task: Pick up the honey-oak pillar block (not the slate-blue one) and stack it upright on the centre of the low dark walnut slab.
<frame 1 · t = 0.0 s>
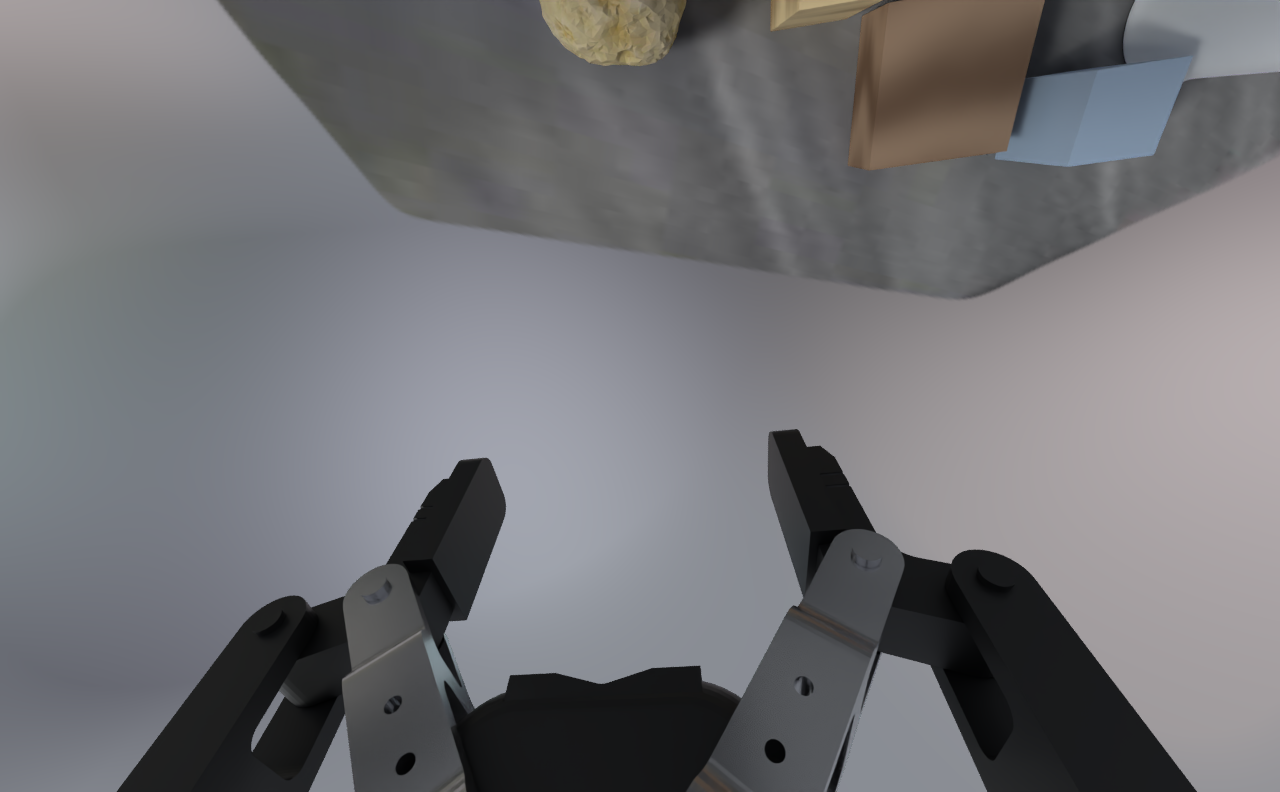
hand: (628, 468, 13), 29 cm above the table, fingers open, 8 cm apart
slate block: (1040, 115, 33), on the table
walnut slab: (919, 86, 32), on the table
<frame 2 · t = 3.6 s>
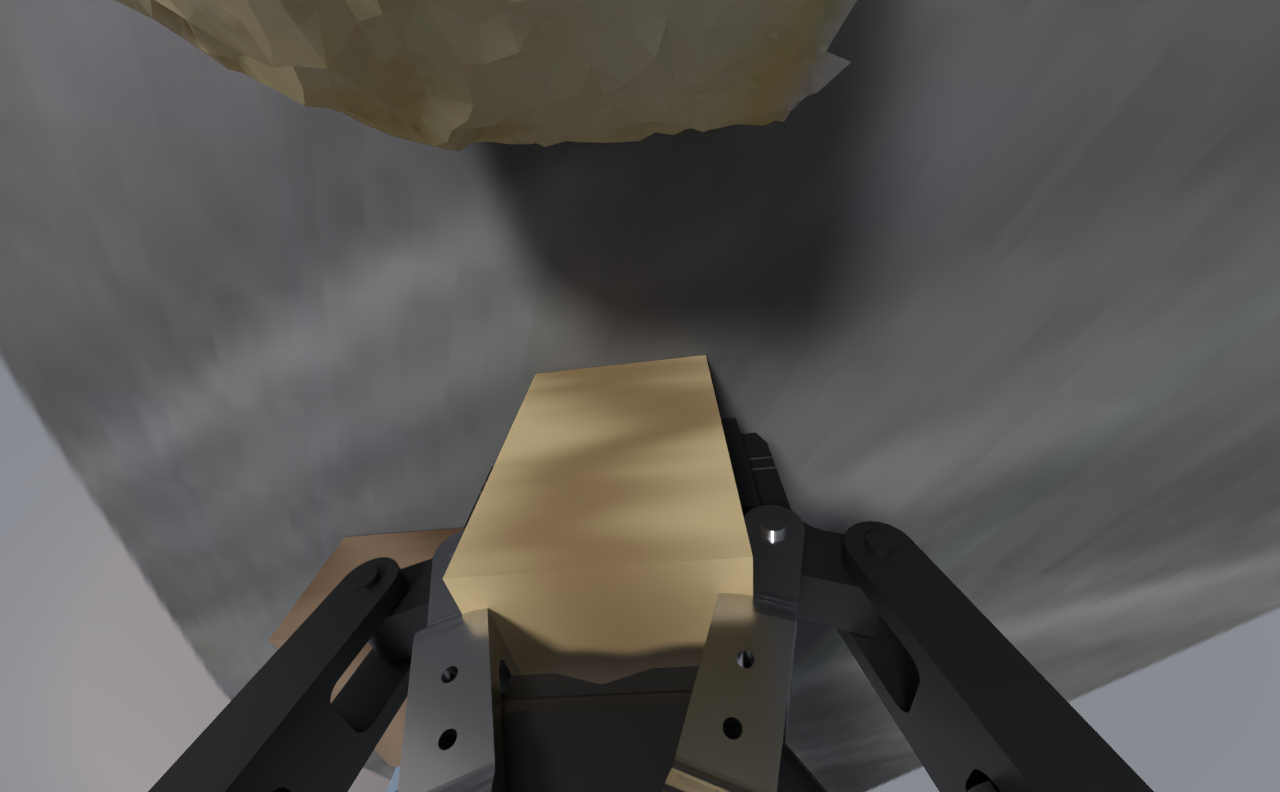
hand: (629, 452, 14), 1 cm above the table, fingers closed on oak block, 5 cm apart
oak block: (631, 433, 14), on the table, touching gripper
walnut slab: (493, 602, 19), on the table
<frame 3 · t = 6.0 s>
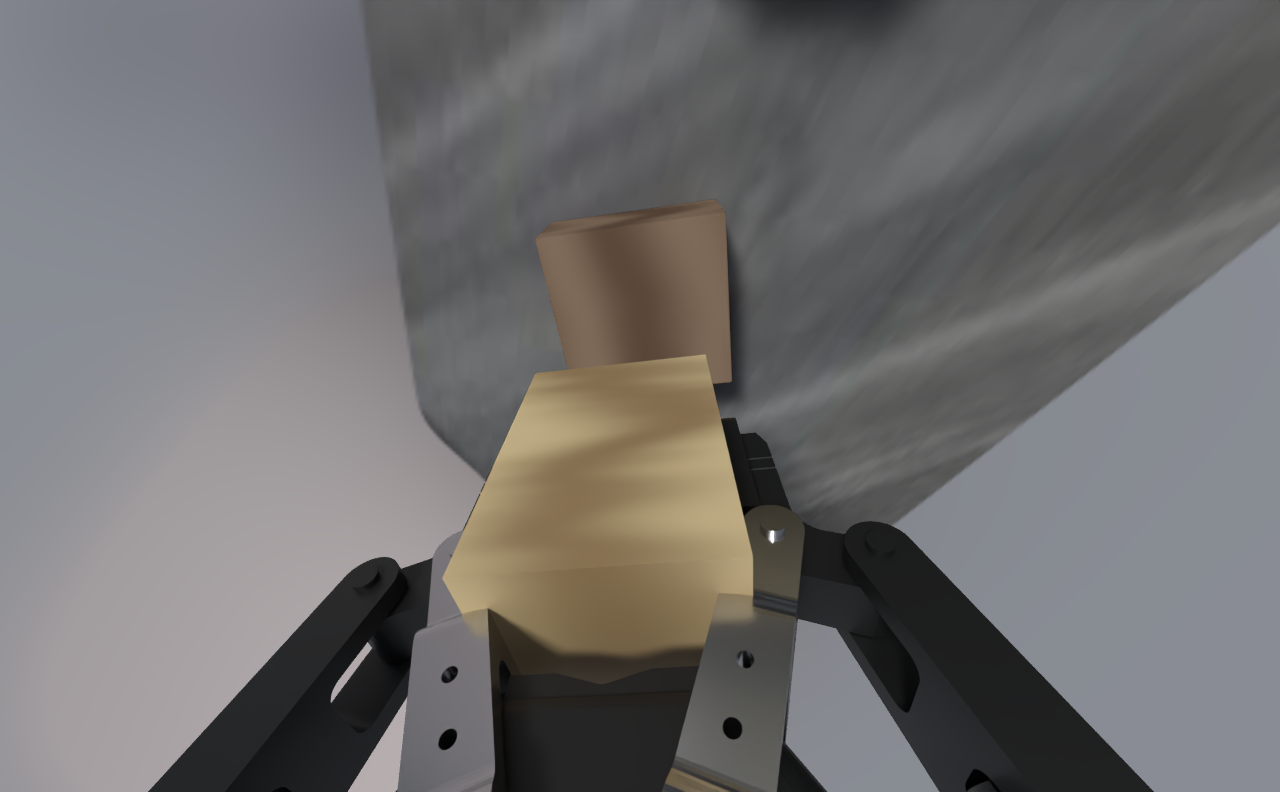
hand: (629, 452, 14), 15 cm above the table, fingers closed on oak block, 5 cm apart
oak block: (631, 433, 14), point 14 cm above the table, touching gripper
walnut slab: (642, 291, 27), on the table
when the fingers open (6 cm above the table, at t = 8.4 s): oak block drops 1 cm, resting on walnut slab.
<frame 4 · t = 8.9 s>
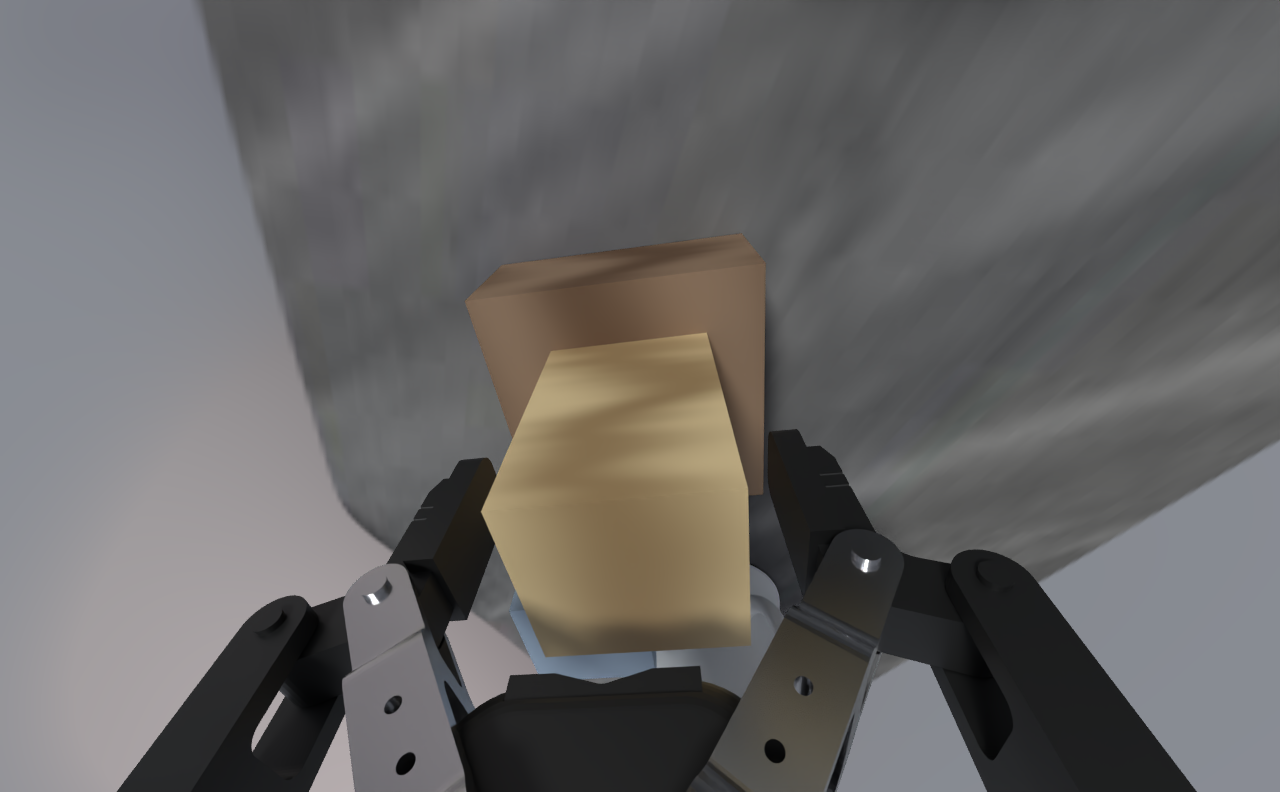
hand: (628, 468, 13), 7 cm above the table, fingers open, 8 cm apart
mug: (718, 583, 27), on the table
oak block: (638, 407, 16), point 4 cm above the table, touching walnut slab
slate block: (603, 514, 24), on the table
walnut slab: (635, 357, 19), on the table
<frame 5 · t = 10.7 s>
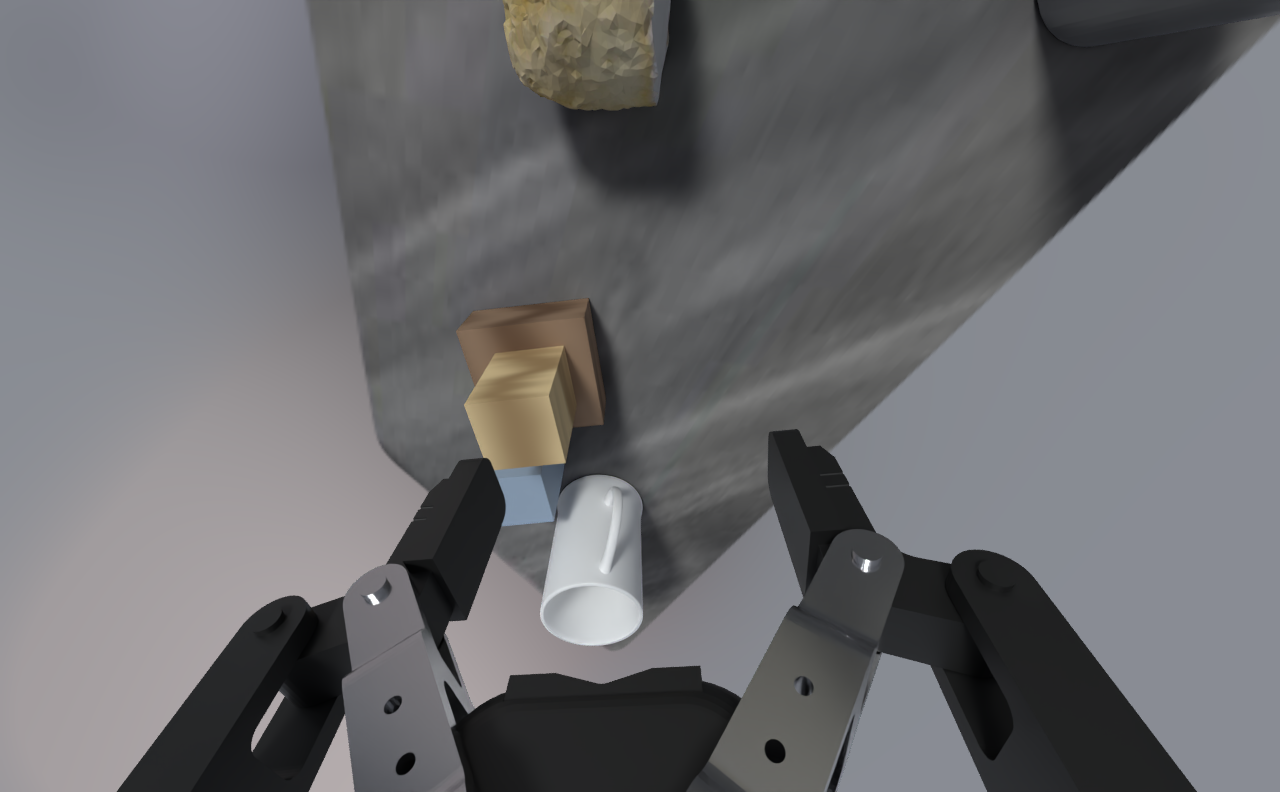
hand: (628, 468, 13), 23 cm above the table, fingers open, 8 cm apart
mug: (605, 493, 45), on the table
oak block: (537, 379, 33), point 4 cm above the table, touching walnut slab
slate block: (532, 447, 42), on the table
coral: (601, 15, 26), on the table
walnut slab: (543, 357, 37), on the table
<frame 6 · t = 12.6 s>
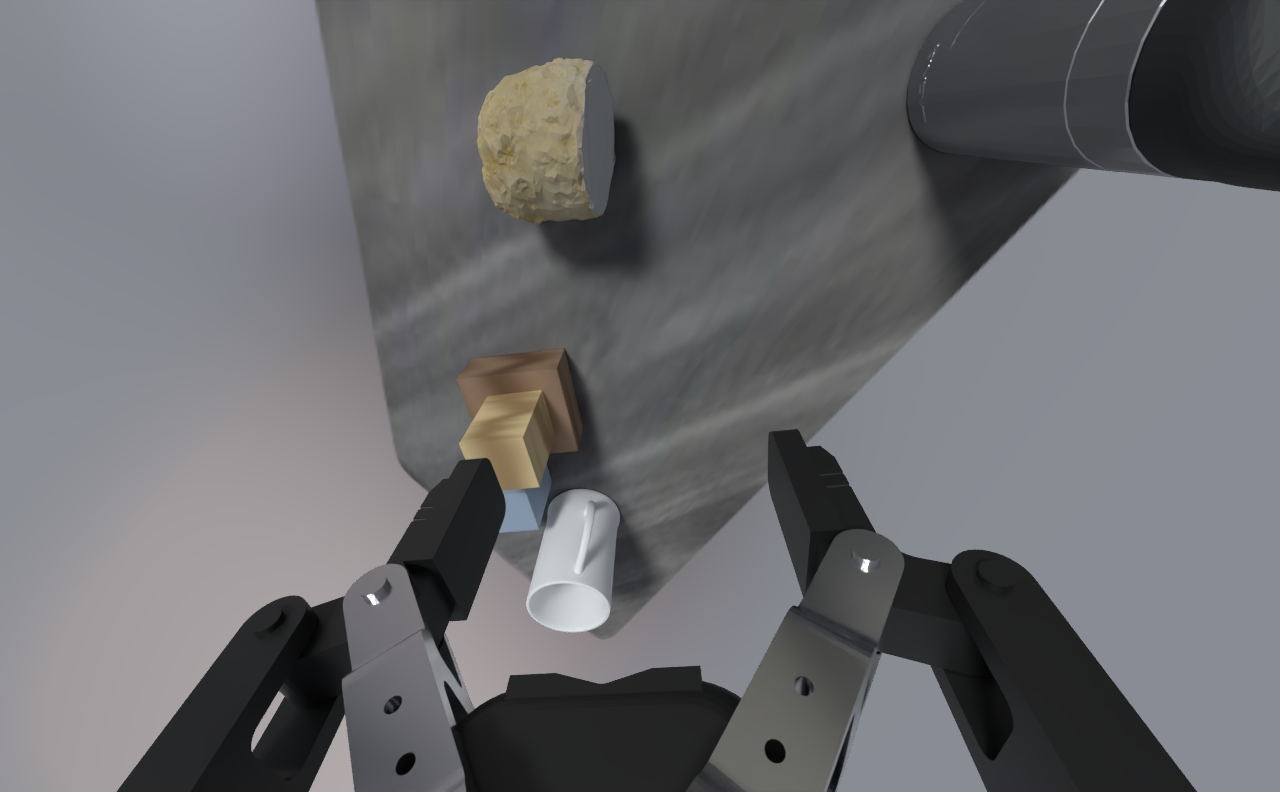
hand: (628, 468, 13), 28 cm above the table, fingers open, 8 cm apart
mug: (588, 504, 53), on the table
oak block: (522, 416, 41), point 4 cm above the table, touching walnut slab
slate block: (524, 466, 50), on the table
coral: (562, 141, 34), on the table
walnut slab: (529, 394, 45), on the table
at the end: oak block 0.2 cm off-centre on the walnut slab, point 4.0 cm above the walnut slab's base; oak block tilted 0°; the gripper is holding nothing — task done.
